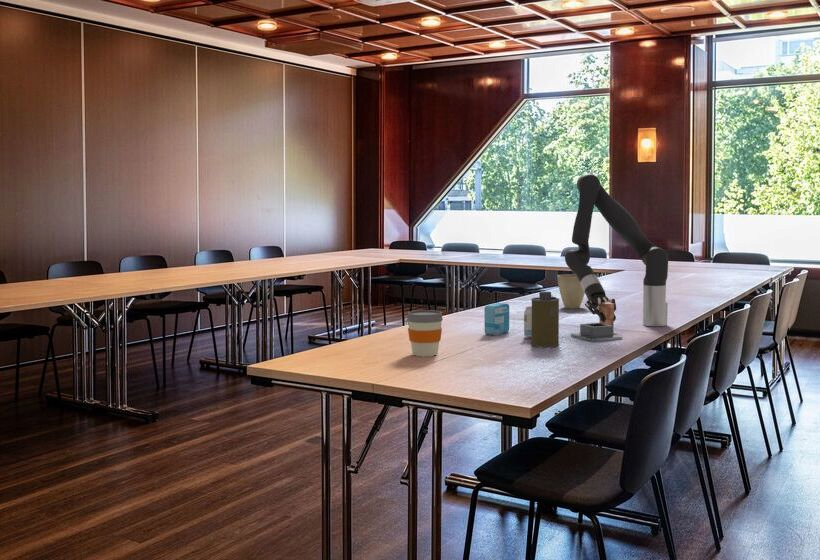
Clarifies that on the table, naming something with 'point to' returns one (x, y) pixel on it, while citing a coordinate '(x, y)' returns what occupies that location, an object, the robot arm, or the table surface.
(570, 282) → the plant pot
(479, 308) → the table surface
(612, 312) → the terracotta peg
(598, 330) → the socket plate
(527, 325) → the beverage can
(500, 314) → the data package
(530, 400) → the table surface
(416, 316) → the reusable coffee cup
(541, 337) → the canister
